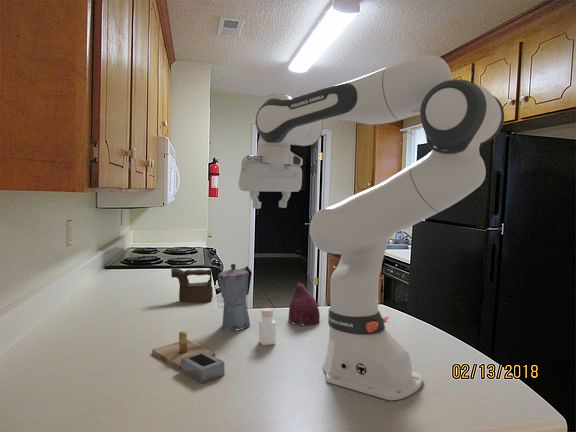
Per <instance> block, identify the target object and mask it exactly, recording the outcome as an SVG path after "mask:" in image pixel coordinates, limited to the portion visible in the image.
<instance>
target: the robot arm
mask: <svg viewBox="0 0 576 432" xmlns="http://www.w3.org/2000/svg"><path fill="white" fill-rule="evenodd" d="M415 116H420V121H421V125H422V127H423V130H424V133H425V134H424V135H425V138H426V144H427V146H428V148H429V149H431V150H430V152H428V153H427V154H426V155H425V156H423V157H422V158H420V159H418V160H417V161H415V162H413V163H412V164H410V165H409V166H407V167H406V168H404V169H402V170H400V171H399V172H398V173H396V174H394V175H392V176H391V177H389V178H388V179H386V180H384V181H382V182H380V183H379V184H376V185H374V186H372V187H369V188H367V189H365V190H363V191H360V192H358V193H356V194H354V195H352V196H349V197H347V198H345V199H344V200H341V201H339V202H337V203H335V204H332V205H330V206H327V207H324V208H322V209H319V210H318V211H317V212H316V213H315V214H314V215H313V216H312V218H311V221H310V224H309V234H310V238H311V241H312V243H313V244H314V246H315V247H316V248H317V249H318V250H319V251H322V252H324V253H328V254H334V255H340V259H339V262H338V264H337V266H336V268H335V269H334V271H333V272H332V273H331V276H330V285H329V286H330V288H329V289H330V293H329V295H330V296H329V297H330V307H329V308H328V313H327V314H328V318H327V319H328V320H327V321H328V323H327V324H328V326H329V335H328V344H327V349H326V355H325V358H324V362H323V365H322V366H323V367H322V368H323V372H324V373H325V381H326V382H327V383H329V384H333V385H335V386H340V387H342V388H345V389H346V388H347V389H348V390H349V389H350V390H353V391H356V392H360V393H363V394H366V395H370V396H372V397H376V398H380V399H384V400H385V401H397V400H401V399H405V398H406V397H409V396H411V395H413V394H414V393H416V392H417V391H418V390H419V389H420V388H422V385H423V376H422V374H421V373H419V372H417V371H414V370H413V367H412V361H411V357H410V354H409V352H408V350H407V349H406V348H405V347H404V346H403V345H401V344H400V342H399V341H398V340H396V339H395V337H393V335H392V334H391V333H389V332H388V330H387V329H386V326H385V323H388V322H389V320H388V319H389V316H386V317H382V314H381V312H380V310H379V289H380V288H379V283H380V282H379V281H380V276H381V269H382V264H383V262H384V257H385V255H386V250H387V247H388V245H389V242H390V240H392V238H393V236H394V234H396V233H397V232H401V231H403V230H404V231H405V230H406V229H408V228H410V227H412V226H415V225H417V224H419V223H421V222H422V221H425V220H427V219H428V218H431V217H432V216H435V215H436V214H438V213H441V212H442V211H444V210H446V209H448V208H450V207H452V206H453V205H455V204H457V203H458V202H460V201H462V200H463V199H465V198H467V196H469V195H470V194H471V193H473V192H474V191H475V190H477V189H479V187H480V186H481V185H482V184H483V183H484V181H485V179H486V172H487V171H486V165H485V162H484V159H483V157H482V156H481V153H480V147H481V146H482V145H485V144H487V143H489V142H490V141H492V140H493V139H494V138H495V137H497V135H498V134H499V133H500V131H501V130H502V127H503V125H504V121H505V111H504V107H503V105H502V103H501V101H500V99H498V98H497V97H496V96H494V95H493V94H492V93H491V91H489V90H488V89H487V88H486V87H484V86H482V85H479V84H476V83H474V82H472V81H470V80H467V79H460V78H459V79H455V78H454V79H453V74H452V71H451V68H450V66H449V65H448V63H447V62H446V61H445V60H444V59H443V58H442V57H440V56H438V55H426V56H420V57H415V58H412V59H408V60H404V61H400V62H398V63H394V64H392V65H389V66H386V67H384V68H382V69H379V70H377V71H375V72H371V73H369V74H368V73H367V75H366V74H365V75H363V76H361V77H358V78H355V79H352V80H349V81H346V82H343V83H340V84H336V85H333V86H329V87H325V88H320V89H318V90H315V91H313V92H309V93H306V94H303V95H300V96H295V97H293V98H292V97H291V96H290V95H288V94H287V95H286V94H284V93H274V94H270V95H267V96H266V97H264V98H263V99H262V102H261V106H260V108H259V109H258V111H257V112H256V115H255V126H256V127H255V128H256V130H257V132H258V134H259V138H258V142H257V148H256V149H257V151H256V152H257V153H256V155H252V154H251V155H250V154H248V155H246V156H245V157H243V159H242V160H241V167H240V173H239V179H238V188H239V190H240V191H241V192H242V191H243V192H249V196H250V198H251V201H252V208H253V209H257V210H258V209H261V208H262V201H259V196H260V192H268V193H269V192H278V193H279V192H280V193H281V194H282V198H281V199H280V200H279V201H278V208H281V209H283V208H284V209H285V208H287V206H288V201H289V199H290V198H291V194H292V192H293V193H294V192H297V193H298V192H300V191H301V189H302V185H303V183H302V182H303V170H302V166H303V164H304V163H303V162H304V161H303V158H302V157H300V156H299V155H297V154H295V153H294V152H292V151H291V145H292V146H301V147H305V146H312V145H314V144H315V143H316V142H318V140H319V139H320V138H321V135H322V132H323V128H324V127H323V121H331V120H335V121H336V120H340V121H348V122H353V123H357V124H358V123H359V124H363V125H364V124H365V125H382V124H389V123H391V124H392V123H395V122H399V121H401V120H405V119H408V118H410V117H411V118H412V117H415Z"/></svg>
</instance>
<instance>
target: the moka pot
mask: <svg viewBox="0 0 576 432" xmlns="http://www.w3.org/2000/svg"><path fill="white" fill-rule="evenodd" d="M230 268H231V269H228V270H223V271H221V272H219V273H218V282H219V288H220V294H221V297H222V298H223V299H222V300H223V314H222V328H223V329H224V328H225V330H226V329H228V330H227V331H237V330H236V329H241V328H245V327H247V326H248V327H250V325H251V322H250V317H249V311H248V306H247V295H249V294H250V287H251V280H252V271H251V269H250V268H249V266H248V265H246V266H245V267H242V268H239V269H237V268H236V264H234V263H231V264H230ZM248 327H247V328H248ZM245 329H246V328H245ZM241 330H242V329H241Z"/></svg>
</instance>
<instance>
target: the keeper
mask: <svg viewBox="0 0 576 432" xmlns="http://www.w3.org/2000/svg"><path fill="white" fill-rule="evenodd" d="M178 337H179V338H178V341H177V342H174V343H170V344H166V345H164V346H160V347H156V348H153V349H152V351H151V352H152V355H154V356H155V357H158V358H159V359H160V360H163V361H164V362H166V363H168V365H171V366H172V367H174V368H176V369H177V370H179V371H181V358H183V357H186V356H189V355H192V354H195V353H198V352H201V351H204V352H206V353H208V354H210V355H212V356H214V357H216V353H215V352H212V351H211V350H209V349H207V348H204V347H202V346H201V345H198V344H196V343H194V342H193V341H190V340H188V331H187V330H181V331H179V332H178Z"/></svg>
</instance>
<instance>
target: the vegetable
mask: <svg viewBox="0 0 576 432" xmlns="http://www.w3.org/2000/svg"><path fill="white" fill-rule="evenodd" d="M294 290H295V291H294V293H293V296H292V298H291V301H290V304H289V307H288V308H289V310H288V321H289V320H290V321H291V322H293V323H295V324H304V325H303V326H310V325H309V324H313V325H317V324H319V322H320V316H321V315H320V309H319V306H318V303H317V302H316V299H315V297H314V296H313V295H312V293H311V292H310V291H309V290H308V289H307V288H306V287H305V285H304V284H303V283H301V282H300V281H298V282H297V284H296V286H295V289H294ZM290 321H289V322H290ZM291 322H290V323H291ZM295 324H294V325H295Z"/></svg>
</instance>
